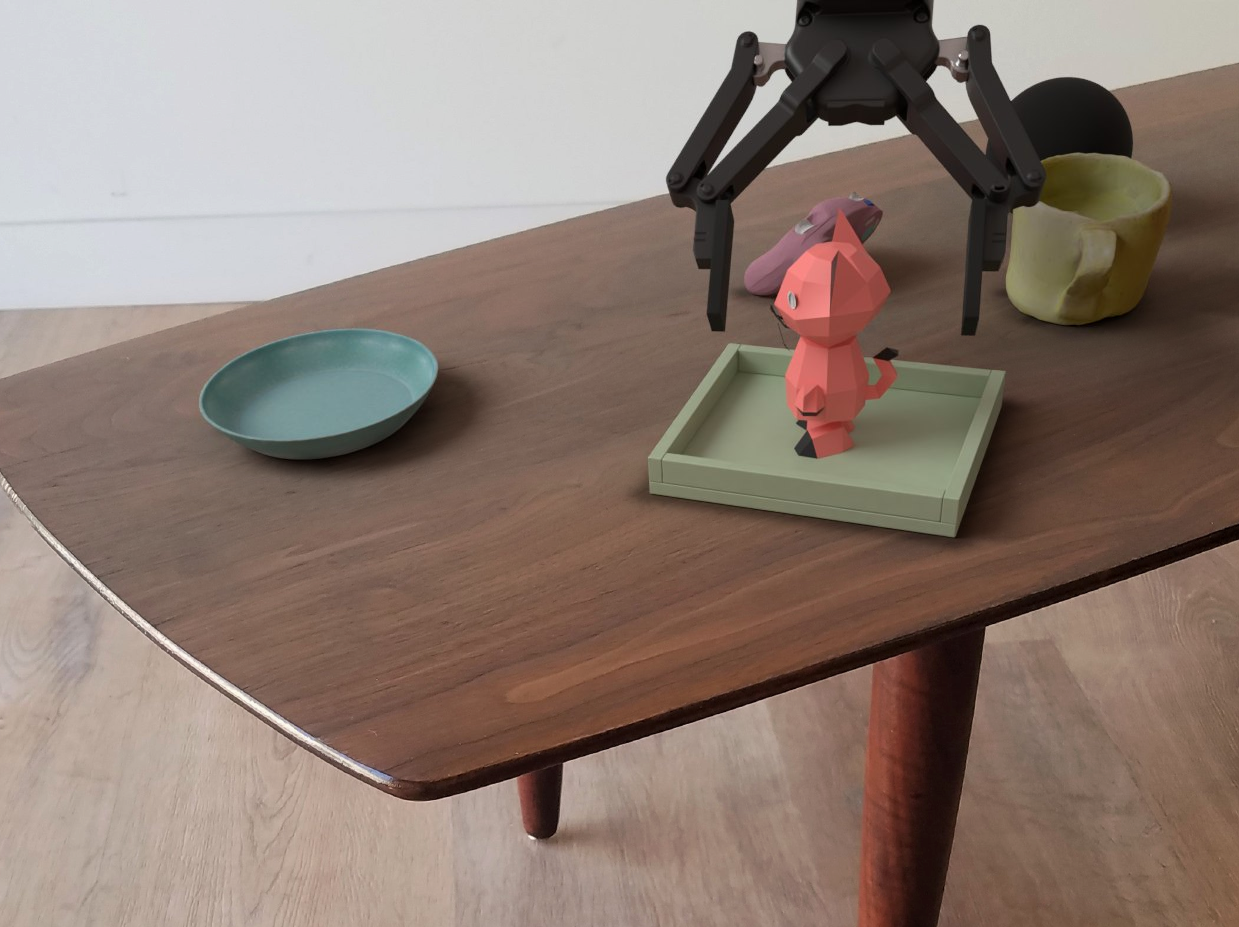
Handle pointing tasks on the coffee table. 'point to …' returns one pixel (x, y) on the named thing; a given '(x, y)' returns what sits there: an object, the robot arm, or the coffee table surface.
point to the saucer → (320, 392)
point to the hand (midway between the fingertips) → (840, 325)
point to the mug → (1088, 238)
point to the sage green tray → (841, 483)
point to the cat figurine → (832, 339)
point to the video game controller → (810, 240)
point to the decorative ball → (1071, 120)
